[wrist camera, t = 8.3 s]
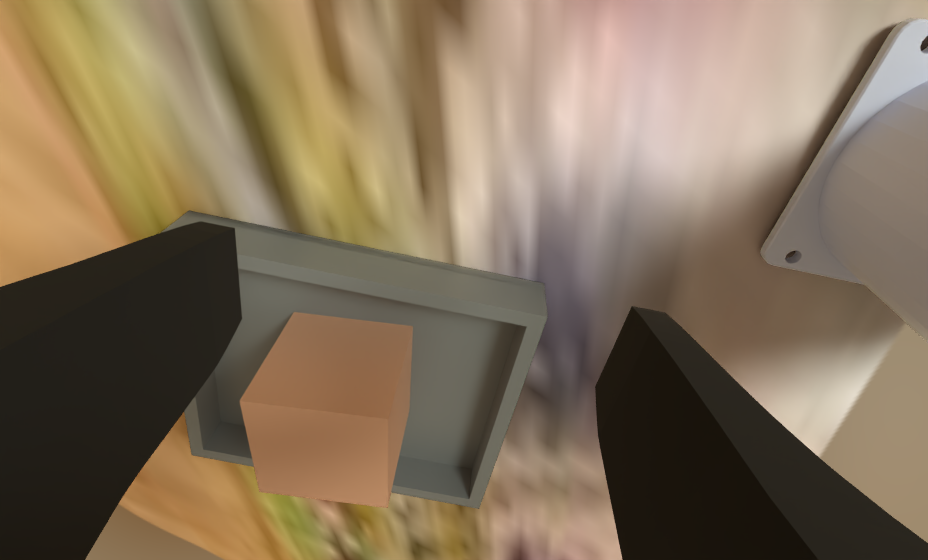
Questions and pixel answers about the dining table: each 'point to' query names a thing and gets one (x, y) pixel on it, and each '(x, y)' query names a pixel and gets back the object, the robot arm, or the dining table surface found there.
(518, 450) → the dining table surface
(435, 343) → the tray
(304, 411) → the terracotta block
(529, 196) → the dining table surface
